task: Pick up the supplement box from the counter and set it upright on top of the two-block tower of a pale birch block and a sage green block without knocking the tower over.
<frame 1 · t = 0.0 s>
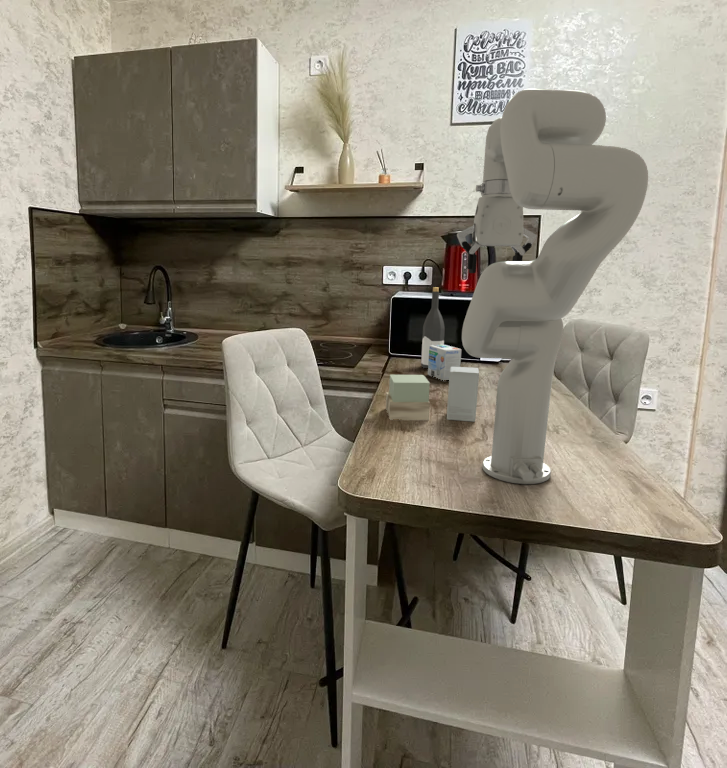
hand: (493, 273, 114), 37 cm above the table, tool pointing down, fingers open, 9 cm apart
tower base: (406, 415, 136), on the table, touching tower top
tower top: (408, 397, 134), point 5 cm above the table, touching tower base
light bulb box: (443, 378, 180), on the table
supplement box: (461, 417, 135), on the table
wine bottle: (431, 368, 197), on the table
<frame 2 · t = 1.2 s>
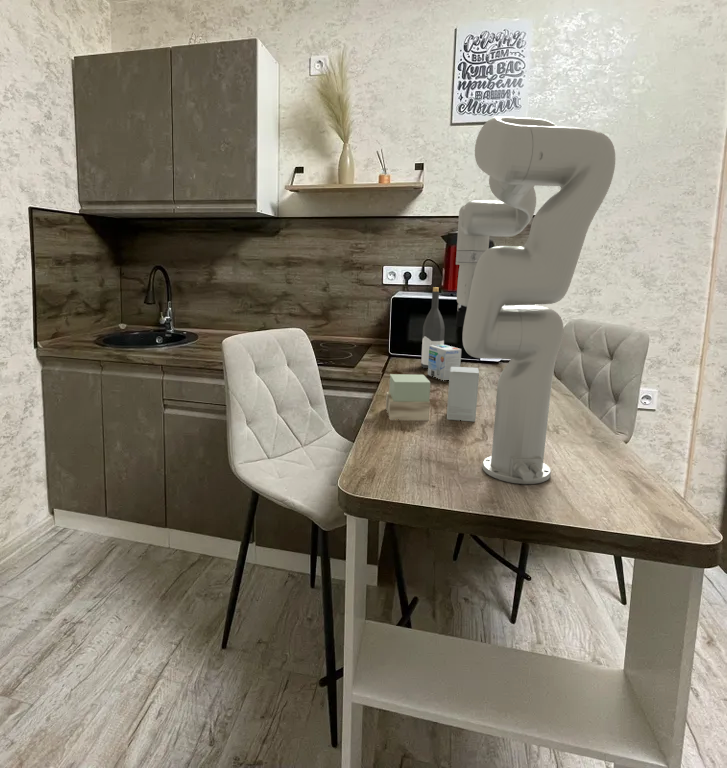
hand: (466, 329, 129), 23 cm above the table, tool pointing down, fingers open, 9 cm apart
nothing on the table moved.
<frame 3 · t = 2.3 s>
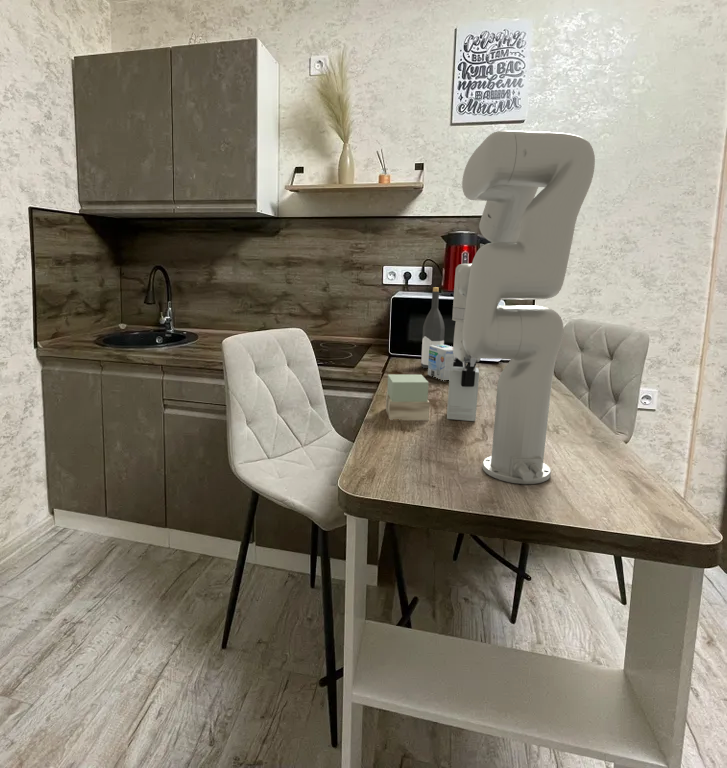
hand: (462, 381, 133), 9 cm above the table, tool pointing down, fingers open, 9 cm apart
nothing on the table moved.
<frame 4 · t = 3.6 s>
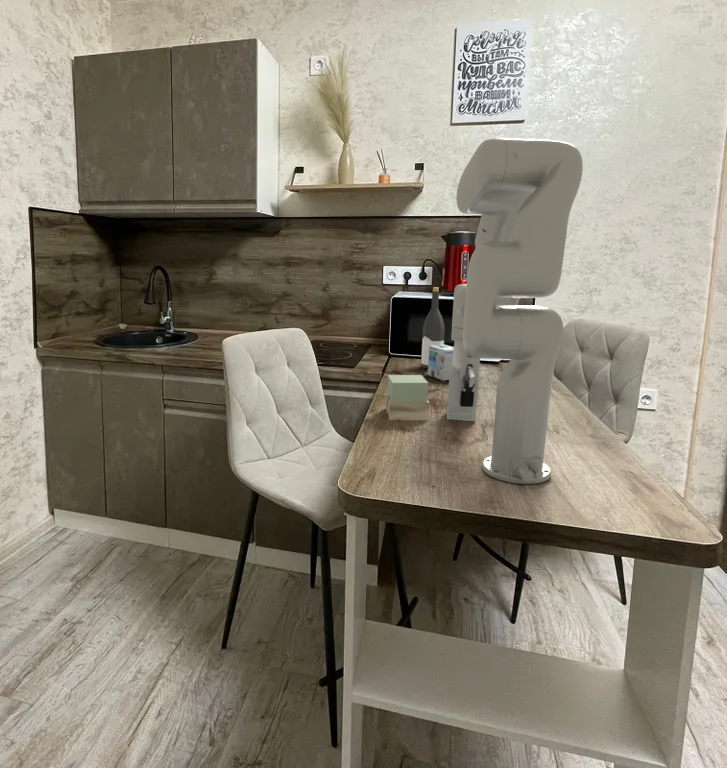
hand: (462, 401, 134), 4 cm above the table, tool pointing down, fingers closed on supplement box, 8 cm apart
tower base: (406, 415, 136), on the table
tower top: (406, 397, 134), point 5 cm above the table
supplement box: (461, 417, 135), on the table, touching gripper
everything else where it was.
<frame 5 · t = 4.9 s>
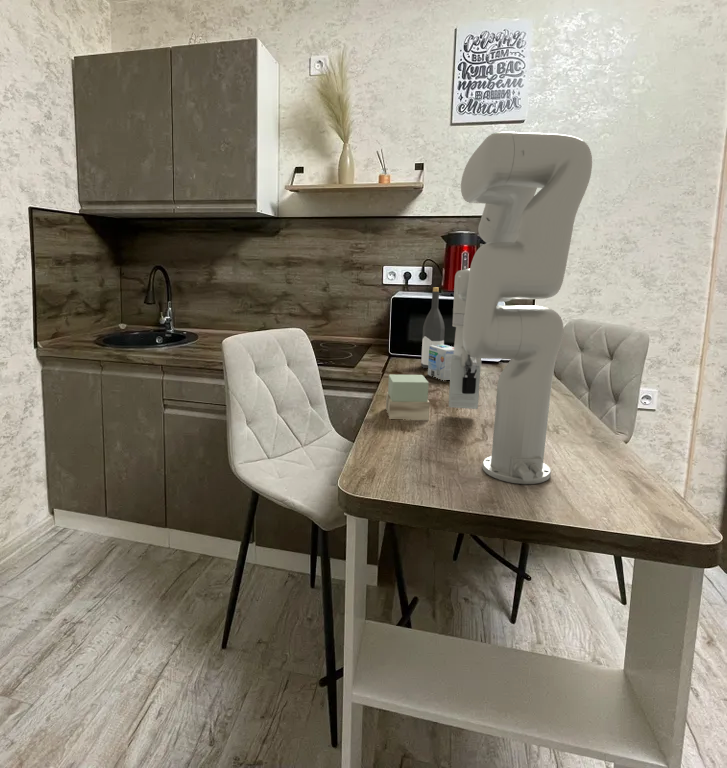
hand: (464, 389, 132), 8 cm above the table, tool pointing down, fingers closed on supplement box, 8 cm apart
tower base: (406, 415, 136), on the table, touching tower top
tower top: (407, 397, 134), point 5 cm above the table, touching tower base
supplement box: (463, 406, 133), point 3 cm above the table, touching gripper
everything else where it was.
when the fingers open (15 cm above the table, at t = 9.4 s): supplement box drops 2 cm, resting on tower top.
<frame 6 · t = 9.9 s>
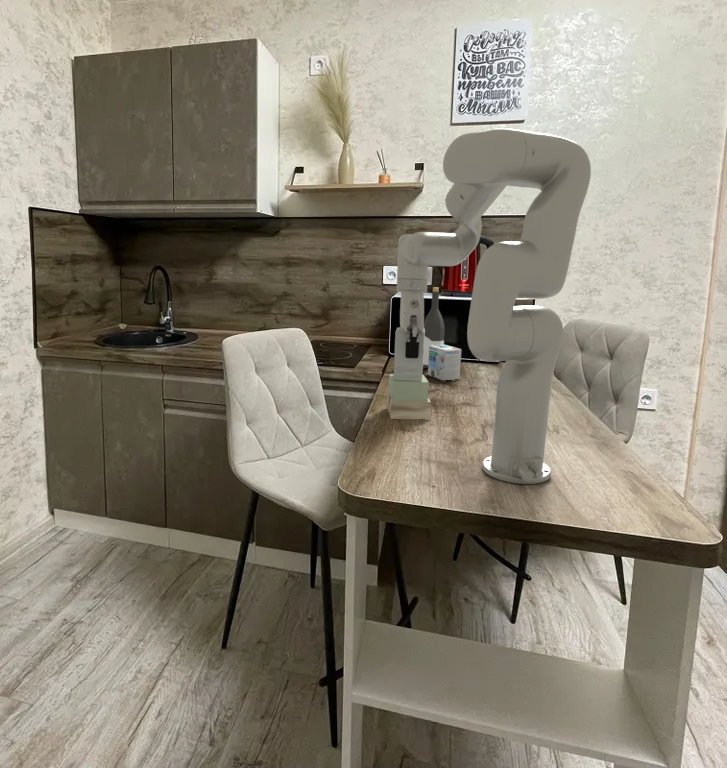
hand: (409, 354, 132), 16 cm above the table, tool pointing down, fingers open, 9 cm apart
tower top: (407, 396, 135), point 5 cm above the table, touching supplement box, tower base
supplement box: (408, 378, 134), point 9 cm above the table, touching gripper, tower top
everything else where it was.
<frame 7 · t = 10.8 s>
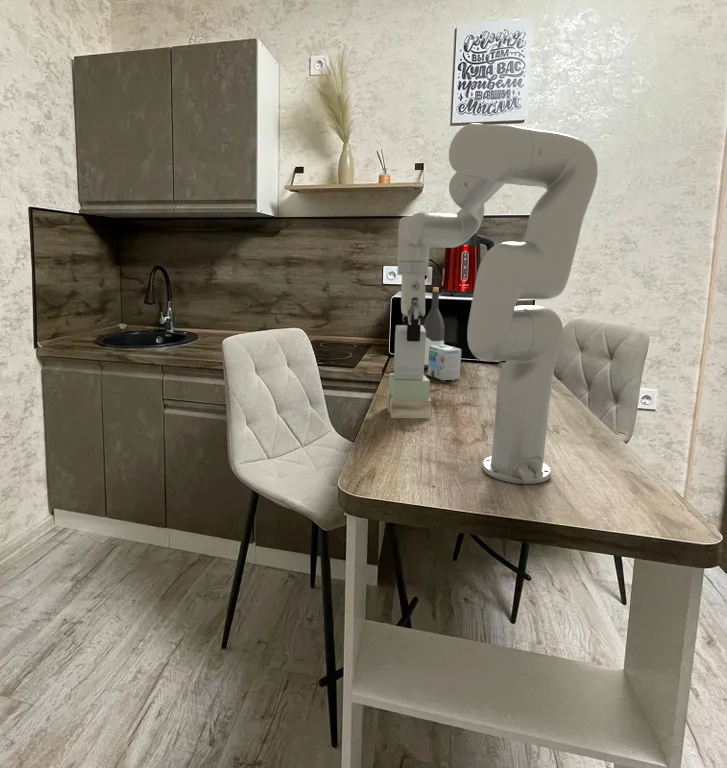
hand: (410, 338, 131), 20 cm above the table, tool pointing down, fingers open, 9 cm apart
supplement box: (408, 376, 135), point 10 cm above the table, touching gripper, tower top
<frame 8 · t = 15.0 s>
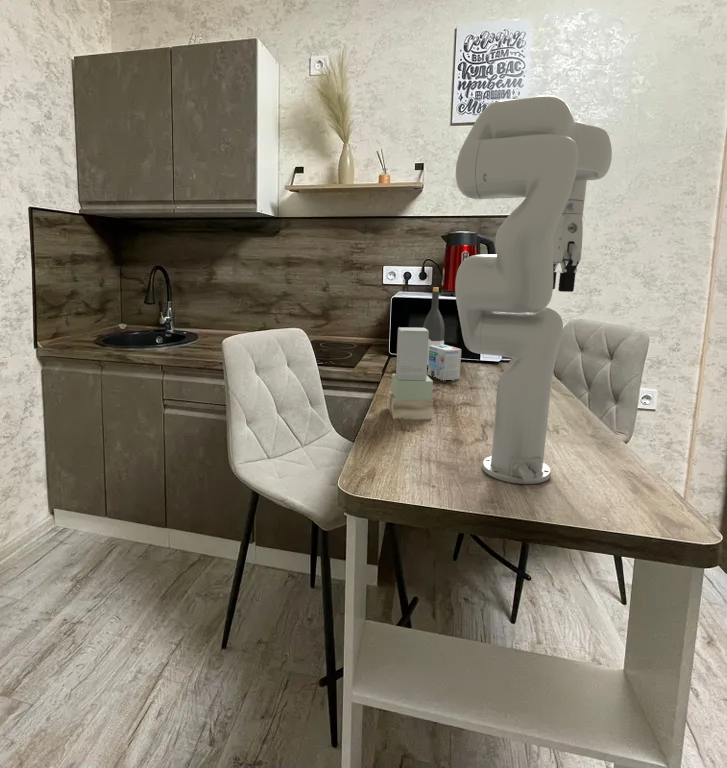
hand: (556, 290, 117), 33 cm above the table, tool pointing down, fingers open, 9 cm apart
supplement box: (410, 378, 134), point 10 cm above the table, touching tower top
at the end: supplement box inside the target area on the tower base (0.1 cm from its centre), point 9.8 cm above the tower base's base; tower top 0.2 cm off-centre on the tower base, point 5.0 cm above the tower base's base; supplement box tilted 0° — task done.
